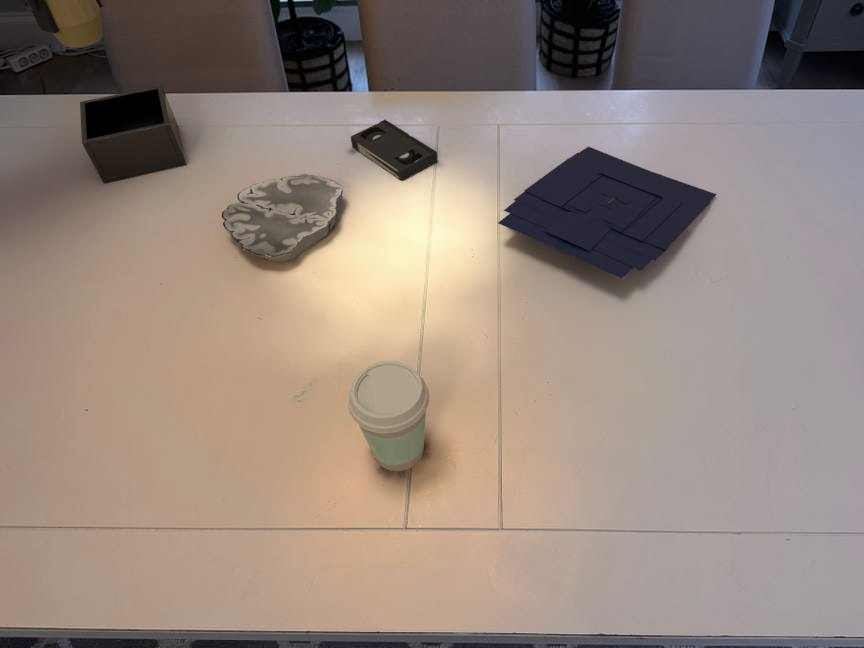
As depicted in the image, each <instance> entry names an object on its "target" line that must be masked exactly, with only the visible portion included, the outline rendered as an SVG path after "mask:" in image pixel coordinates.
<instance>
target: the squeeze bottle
mask: <svg viewBox="0 0 864 648" xmlns="http://www.w3.org/2000/svg"><path fill="white" fill-rule="evenodd" d="M44 1H45V3H46V5H47V7H48V9H49V11H50V13H51V15H52V17H53V19H54V21H55V23H56V25H57V27H58V29H59V32H57V33H52V35H53V36H54V37H55V38H56V39H57V40H58V41H59V42H60V44H62V46H64V47H66V48H71V49H75V48H77V49H79V48H85V47H88V46H91V45H95V44H97V43H98V42H100V41H101V40H102V39H103V38H104V32H103V31H104V30H103V22H102V14H101V12H102V11H101V8H100V7H99V5H98V3H97V1H96V0H44Z"/></svg>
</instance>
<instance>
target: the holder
mask: <svg viewBox="0 0 864 648" xmlns="http://www.w3.org/2000/svg"><path fill="white" fill-rule="evenodd" d="M79 111H80V114H79V115H80V131H81V133H80V134H81V143H82V146H83V148H84V150H85V152H86V153H87V156H88V157H89V159H90V161H91V163H92V165H93V166H94V169H95V171H96V172H97V174H98V176H99V178H100V180H101V182H102V184H103V185H104V184H109V183H113V182H118V181H122V180H126V179H130V178H131V179H132V178H135V177H139V176H145V175H148V174H152V173H158V172H162V171H165V170H171V169H174V168H180V167H183V166H187V161H186V157H185V152H184V147H183V143H182V138H181V134H180V128H179V125H178V123H177V122H178V121H177V119H176V118H175V115H174V113H173V110H172V108H171V105H170V102H169V100H168V97H167V95H166V92H165V90H164V87H163V85H156V86H152V87H148V88H147V87H146V88H143V89H137V90H132V91H127V92H122V93H117V94H112V95H108V96H102V97H96V98H92V99H87V100H83V101H82V100H81V101H79Z"/></svg>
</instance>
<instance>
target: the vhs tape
mask: <svg viewBox="0 0 864 648" xmlns="http://www.w3.org/2000/svg"><path fill="white" fill-rule="evenodd" d="M350 140H351V146H352V147H351V148H352V149H354V150H356V151H357V152H359V153H360V154H361V155H363V156H364V157H365V158H367V159H369V160H370V161H371V162H373V163H375V164H376V165H377V166H379V167H381V168H382V169H383V170H384V171H386V172H388V174H390V175H392V176H393V177H395V178H396V179H398V180H399V181H405V180H407V179H409V178H410V177H412V176H414V175H417V174H418V173H420V172H422V171H423V170H425V169H428V168H429V167H430V166H433V165H434V164H437V163H438V161H439V160H438V151H436V150H435V149H433V148H432V147H430V146H429V145H427V144H426V143H424V142H423V141H420V140H419V139H417V138H416V137H414V136H412V135H410V134H409V133H407V132H406V131H405V130H403V129H401V128H400V127H398V126H397V125H395V124H393V123H392V122H390V121H388V120H387V119H383V120H380V121H379V122H378V123H375V124H373V125H371V126H369V127H367V128H365V129H363V130H361V131H358V132H357V133H355V134H352V135H351V136H350Z"/></svg>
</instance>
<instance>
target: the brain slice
mask: <svg viewBox="0 0 864 648" xmlns="http://www.w3.org/2000/svg"><path fill="white" fill-rule="evenodd" d="M343 189H344V186H342V184H340V183H339V182H336V181H335V180H332V179H330V178H329V179H328V178H324V177H321V176H317V175H313V174H307V173H301V174H299V175H293V176H291V175H290V176H284V177H281V178H272V179H269V180H266V181H262V182H257V183H255V184H252V185H250V186H249V187H247V188H246V187H245V188H244V189H242V190H240V191H239V192H238V194H237V195H236V196H237V200H238V201H239V202H234V203H232V204H229V205H228V206H227V207H226V209H224V210H223V211H222V212H221V218H222V219H223V220H224V221H223V222H222V226H223V228H224V229H225V231H227V232H229V233H230V236H231V238H232V239H233V240H235V242H236V243H237V244H238V245H239V246H240V248H241V249H242V250H243V251H245V252H246V253H248V254H250V255H252V256H256V257H258V258H263V259H267V260H268V261H270V262H287V261H291V260H295V259H297V258H298V257H299V256H300V255H301V254H303V253H304V252H306V251H308V250H309V249H310V248H311V247H313V246H315V245H317V243H319V242H320V240H322V239H323V238H324V237H326V235H328V233H329V231H331V229H332V228H333V227H334V225H335V224H336V219H337V213H338V212H339V206H340V204H341V203H342V199H343V191H344V190H343Z"/></svg>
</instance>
